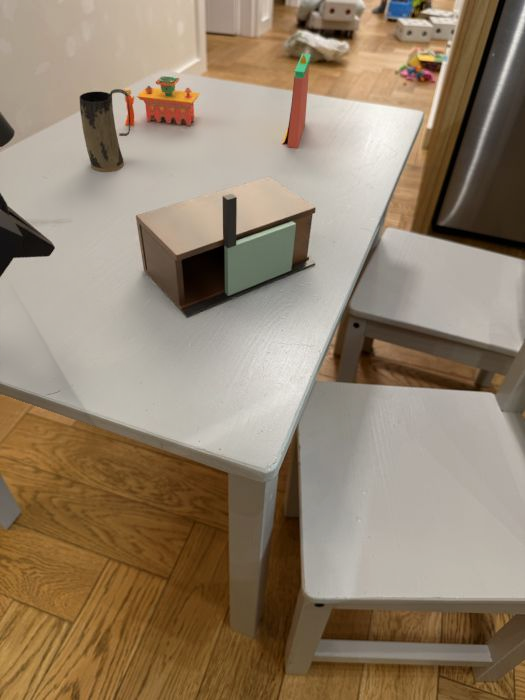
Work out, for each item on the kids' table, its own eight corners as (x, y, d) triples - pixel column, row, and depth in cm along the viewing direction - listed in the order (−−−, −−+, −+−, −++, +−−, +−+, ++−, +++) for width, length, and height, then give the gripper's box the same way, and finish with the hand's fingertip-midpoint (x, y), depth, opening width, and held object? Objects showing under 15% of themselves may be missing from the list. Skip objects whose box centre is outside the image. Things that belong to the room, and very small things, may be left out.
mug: (88, 171, 84) (72, 96, 76) (92, 157, 88) (77, 84, 80) (136, 171, 85) (125, 96, 77) (138, 157, 89) (128, 84, 80)
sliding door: (227, 297, 61) (227, 200, 52) (223, 292, 62) (222, 196, 53) (291, 270, 66) (301, 177, 57) (287, 267, 66) (296, 173, 57)
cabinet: (186, 317, 59) (182, 261, 53) (143, 270, 65) (135, 215, 60) (315, 264, 68) (322, 211, 62) (266, 227, 74) (269, 176, 68)
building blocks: (297, 148, 95) (305, 65, 85) (122, 127, 98) (109, 45, 88) (305, 123, 104) (312, 46, 94) (143, 105, 107) (134, 29, 97)
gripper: (-72, 93, 25) (150, 230, 38) (-122, 2, 35) (66, 134, 48) (-176, 266, 27) (67, 340, 40) (-195, 133, 37) (4, 226, 50)
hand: (51, 249), depth 44 cm, fingers closed
